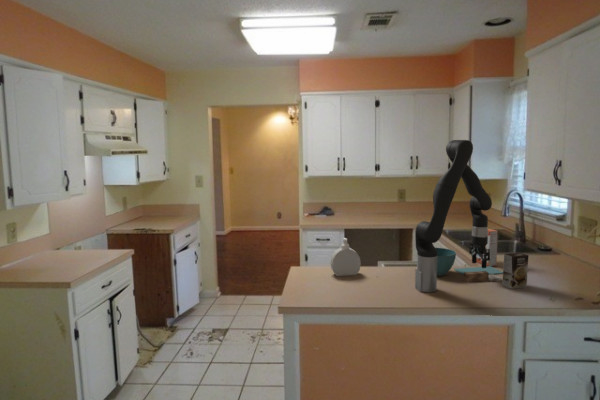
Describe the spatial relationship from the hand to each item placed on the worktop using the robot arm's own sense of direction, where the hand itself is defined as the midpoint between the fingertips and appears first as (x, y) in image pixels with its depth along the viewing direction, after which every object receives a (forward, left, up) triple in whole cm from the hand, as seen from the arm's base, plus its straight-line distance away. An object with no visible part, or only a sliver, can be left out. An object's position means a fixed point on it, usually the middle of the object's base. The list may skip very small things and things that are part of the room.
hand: (478, 265), depth 204 cm
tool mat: (+8, +12, -8) cm, 16 cm away
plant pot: (-15, +14, -8) cm, 22 cm away
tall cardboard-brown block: (+2, 0, -8) cm, 8 cm away
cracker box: (+20, +26, -8) cm, 34 cm away
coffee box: (+12, -12, -8) cm, 18 cm away
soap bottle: (-65, +23, -8) cm, 69 cm away
